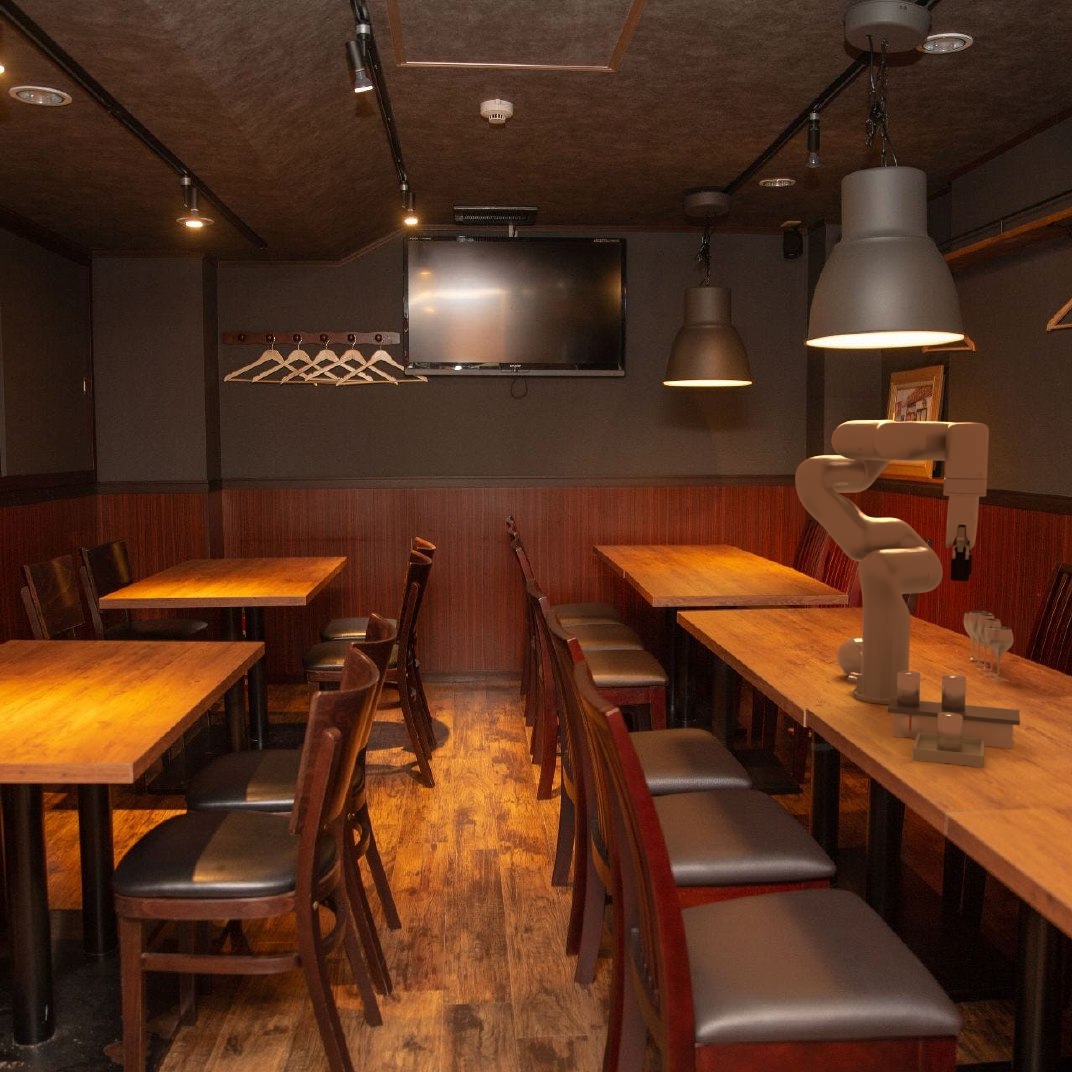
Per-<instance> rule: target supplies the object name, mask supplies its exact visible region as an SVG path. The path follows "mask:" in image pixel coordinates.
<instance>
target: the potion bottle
mask: <svg viewBox="0 0 1072 1072" xmlns="http://www.w3.org/2000/svg"><path fill="white" fill-rule="evenodd" d="M836 658H837V664H838V665H839V666H840V669H841V670H842V672H843V673H844V674H845V675H847V676H849V675H850V673H851V672H854V673H859V674H861V666H862V636H855V637H854V636H853V637H850V638H848V639H847V640H845V641H844V642H842V643H841V645H840V647H839V649H838V651H837V653H836Z"/></svg>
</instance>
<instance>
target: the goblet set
mask: <svg viewBox="0 0 1072 1072" xmlns="http://www.w3.org/2000/svg"><path fill="white" fill-rule="evenodd" d="M963 626H964V629H965V631H966V633H967V634H968V636H969V638H970V641H971V657H968V658H969V660H976V659H978V662H972V663H973V664H975V665H977V664H978V665H983V663H984V667H979V668H980V669H984V670H989V668H988V667H987V666H986V664H987V663H986V661H987V650H988V649H987V648H988V647H989V651H990V669H991V671H987V672H984V673H985V674H989V675H996V672H994V671H992V669H993V662H994V661H993V658H994V654H995V656H996V660H997V676H993V677H994V678H990V677H989V678H990V679H991V680H995V681H994V682H996V681H1007V680H1006V679H1007V678H1005V679H1004V677H1000V676H999V674H1000V665H1001V659H1002V657H1003V655H1004V654H1005V653H1006V652H1007V651H1008V650H1009V649H1010V648H1011V647H1012V646H1013V644H1014V634H1013V630H1012V628H1011V627H1008V626H1007V627H1006V626H1002V623H1001V619H997V618H995V615H994V614H992V612H990V611H984V610H971V611H966V612H964V616H963ZM975 642H977V658H975V657H974V653H975V652H974V651H975V649H974V648H975ZM982 645H983V653H984V654H983V655H984V657H983V658H984V659H983V660H984V662H983V663H982V662H979V660H981V659H980V657H981V646H982Z"/></svg>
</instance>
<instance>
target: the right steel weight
mask: <svg viewBox="0 0 1072 1072" xmlns="http://www.w3.org/2000/svg"><path fill="white" fill-rule="evenodd" d="M962 722H963V716H962V715H960V714H956V713H949V712H943V713H938V719H937V750H940V751H949V752H961V751H962Z"/></svg>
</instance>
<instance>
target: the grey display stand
mask: <svg viewBox="0 0 1072 1072" xmlns="http://www.w3.org/2000/svg"><path fill="white" fill-rule="evenodd" d="M941 704H942V702H936V701H935V702H934V701H925V700H924V701H923V700H920V702H919V707H902V706H899V705H897V699H894V698H892V699H891V701H890V704H888V705H887V709H886V710H887V713H889V714H893V717H892V719H893V720H892V737H895V738H903V737H910V738H909V739H913V738H916V737H917V733H928V734H937V719H938V713H943V712H949V713H956V714H960V715H962V716H963V722H962V737H966V738H976V739H985V742H984V747H991V748H999V749H1007V748H1010V749H1009V750H1013V740H1014V738H1013V737H1014V736H1013V735H1014V726H1020V725H1021V724H1020V723H1021V719H1020V709H1012V708H1011V709H1010V708H1002V707H1001V708H1000V707H991V706H990V707H989V706H980V705H979V706H977V705H968V704H965V711H962V712H952V711H946V710H943V709H942V708H941Z"/></svg>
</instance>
